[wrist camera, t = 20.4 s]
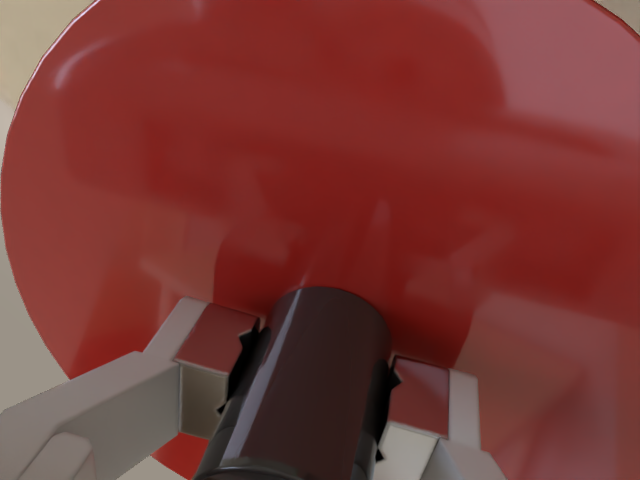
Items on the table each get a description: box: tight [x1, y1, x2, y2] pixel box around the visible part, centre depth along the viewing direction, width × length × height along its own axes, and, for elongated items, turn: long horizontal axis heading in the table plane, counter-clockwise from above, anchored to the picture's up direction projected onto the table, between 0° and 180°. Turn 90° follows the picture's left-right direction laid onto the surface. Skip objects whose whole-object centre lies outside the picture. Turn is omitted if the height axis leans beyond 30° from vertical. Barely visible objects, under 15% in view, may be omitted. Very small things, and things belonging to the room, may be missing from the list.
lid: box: [0, 0, 640, 480], centre depth 10 cm, size 14×14×5 cm
